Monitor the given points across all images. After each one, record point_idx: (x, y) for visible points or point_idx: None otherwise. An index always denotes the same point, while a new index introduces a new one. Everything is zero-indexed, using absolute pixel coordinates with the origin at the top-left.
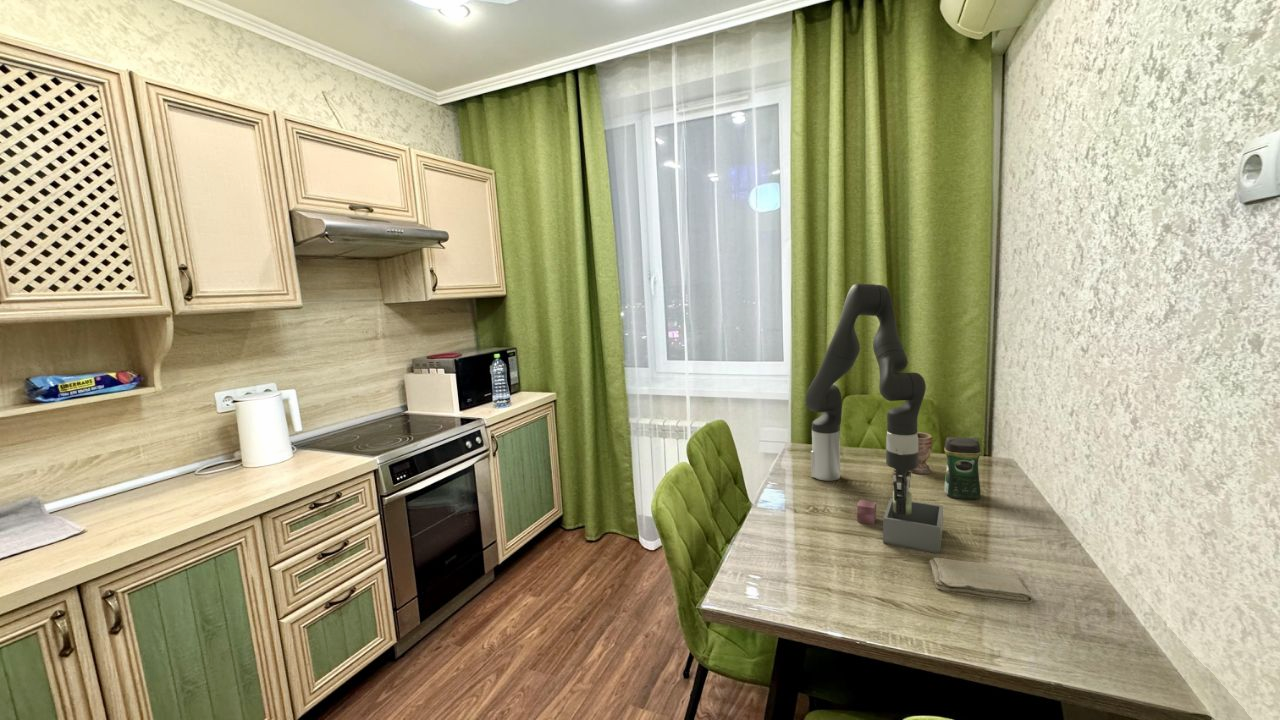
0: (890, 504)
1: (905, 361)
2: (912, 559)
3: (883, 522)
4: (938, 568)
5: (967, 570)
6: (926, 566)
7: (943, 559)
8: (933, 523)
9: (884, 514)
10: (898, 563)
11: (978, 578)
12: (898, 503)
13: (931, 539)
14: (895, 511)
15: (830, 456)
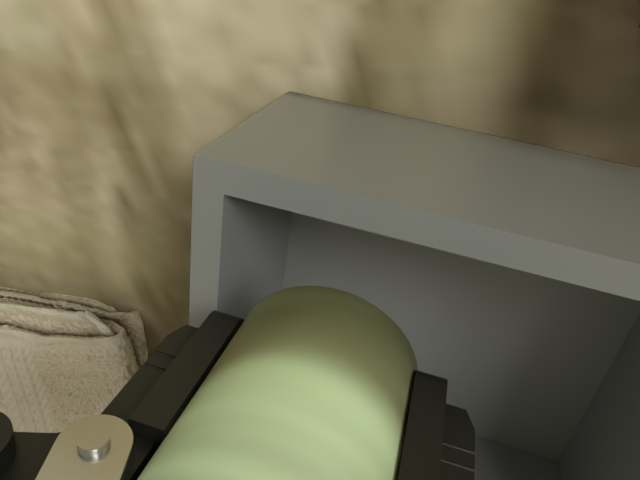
0: (609, 284)
1: None
2: (147, 236)
3: (214, 141)
4: (22, 334)
5: (59, 430)
6: (109, 284)
7: (103, 377)
8: (575, 463)
9: (288, 178)
10: (72, 157)
11: None
12: (112, 411)
13: None
14: (258, 306)
15: None
